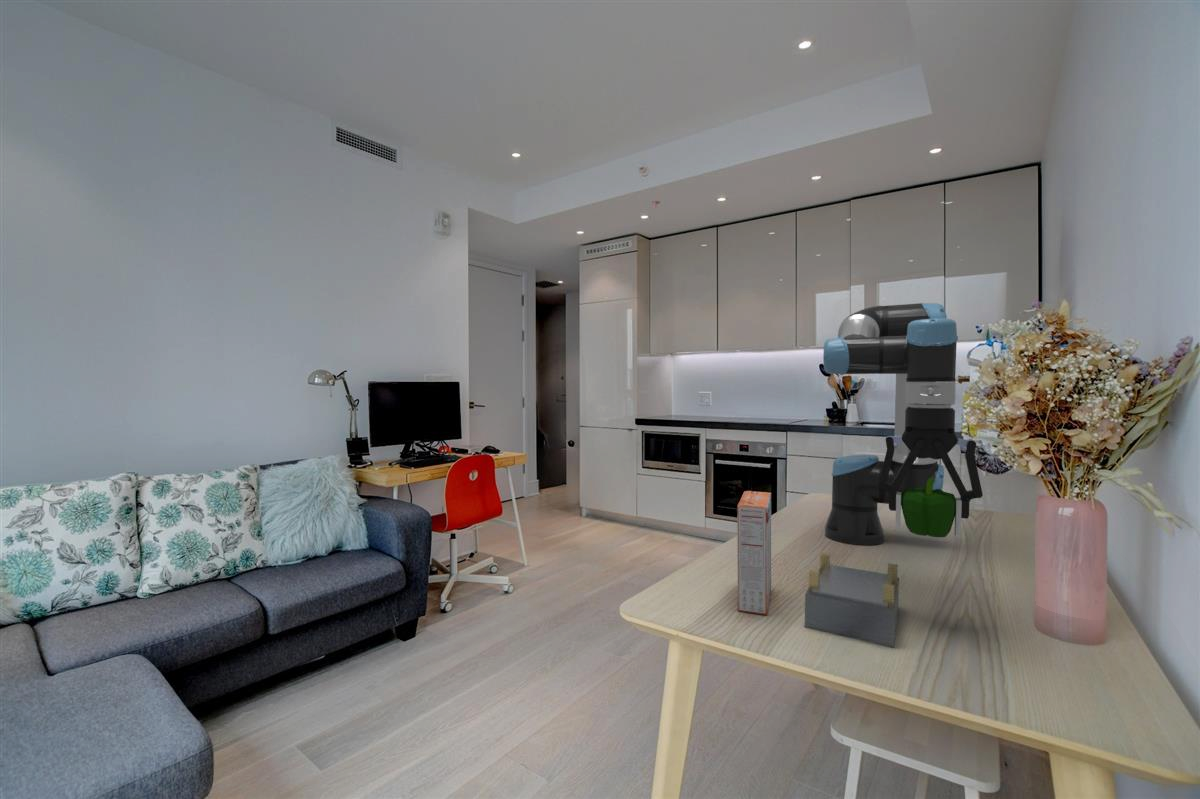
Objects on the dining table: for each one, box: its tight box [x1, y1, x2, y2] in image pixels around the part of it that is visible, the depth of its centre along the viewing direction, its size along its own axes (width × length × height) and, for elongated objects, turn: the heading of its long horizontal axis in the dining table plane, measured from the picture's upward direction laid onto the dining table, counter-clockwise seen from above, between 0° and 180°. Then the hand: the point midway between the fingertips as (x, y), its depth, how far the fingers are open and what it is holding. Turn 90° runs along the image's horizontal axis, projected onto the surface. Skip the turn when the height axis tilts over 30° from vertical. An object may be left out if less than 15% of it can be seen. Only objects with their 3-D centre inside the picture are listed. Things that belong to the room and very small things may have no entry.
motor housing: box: [804, 552, 900, 648], centre depth 100 cm, size 21×14×9 cm, turn 148°
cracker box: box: [736, 490, 772, 616], centre depth 106 cm, size 14×6×21 cm, turn 159°
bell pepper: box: [901, 478, 956, 538], centre depth 94 cm, size 8×8×10 cm
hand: (927, 532), depth 95 cm, fingers closed on bell pepper, 8 cm apart
